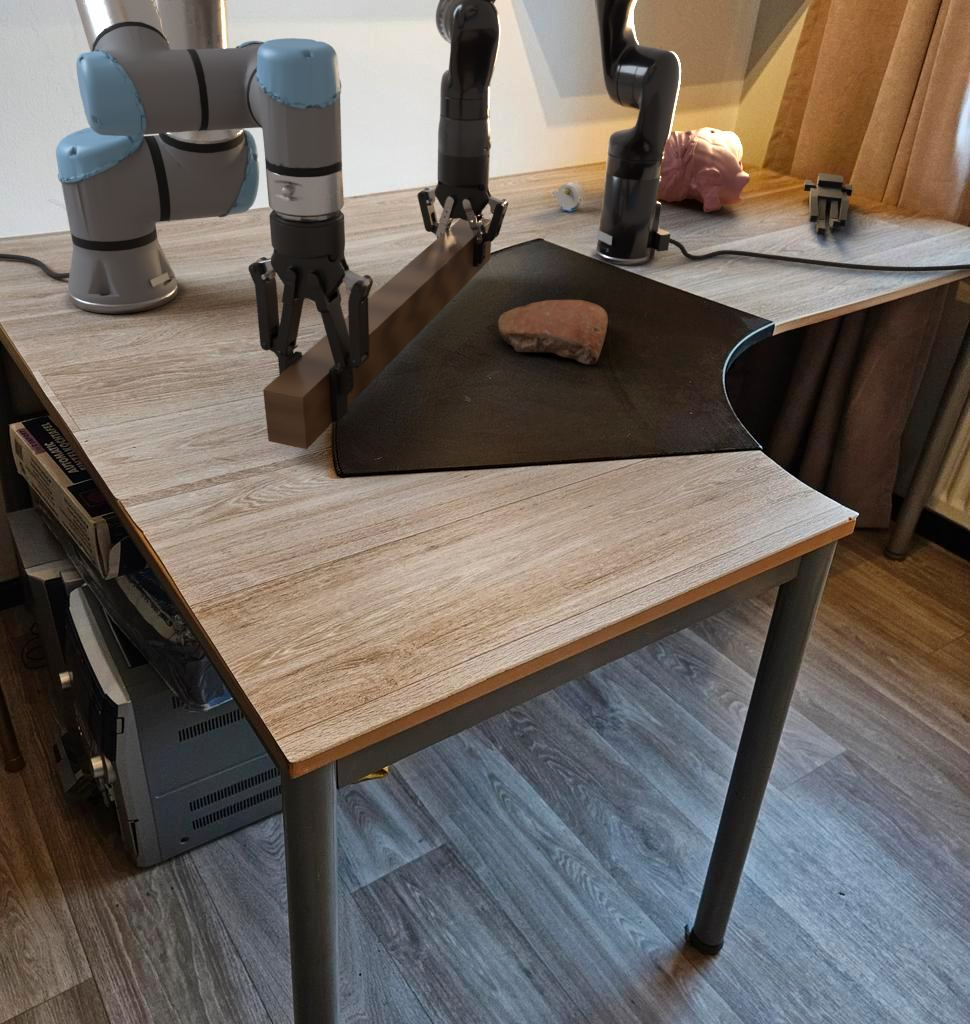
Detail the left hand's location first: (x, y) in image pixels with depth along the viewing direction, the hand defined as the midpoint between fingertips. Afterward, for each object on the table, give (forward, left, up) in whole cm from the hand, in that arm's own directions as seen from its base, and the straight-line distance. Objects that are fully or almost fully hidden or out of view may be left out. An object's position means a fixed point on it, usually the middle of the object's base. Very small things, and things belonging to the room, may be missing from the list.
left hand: (318, 411), depth 111 cm
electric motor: (-44, +87, -3) cm, 97 cm away
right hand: (-24, +42, +2) cm, 48 cm away
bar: (-12, +21, 0) cm, 24 cm away
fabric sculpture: (-41, +119, -3) cm, 126 cm away
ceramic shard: (-2, +41, -3) cm, 41 cm away
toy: (-12, +127, -3) cm, 128 cm away
